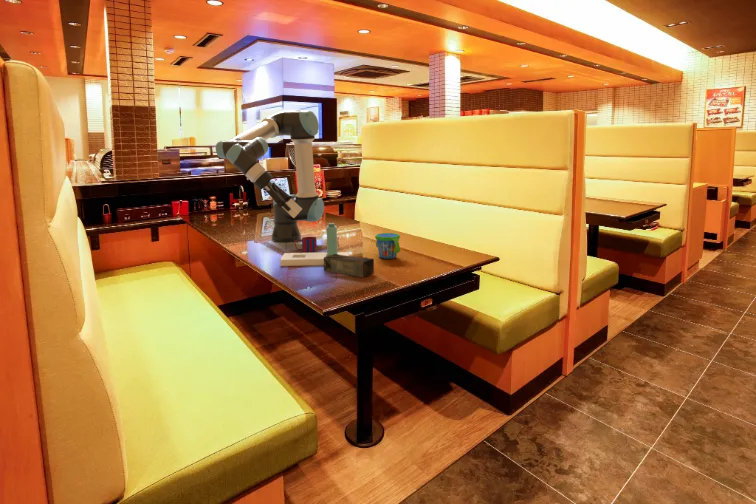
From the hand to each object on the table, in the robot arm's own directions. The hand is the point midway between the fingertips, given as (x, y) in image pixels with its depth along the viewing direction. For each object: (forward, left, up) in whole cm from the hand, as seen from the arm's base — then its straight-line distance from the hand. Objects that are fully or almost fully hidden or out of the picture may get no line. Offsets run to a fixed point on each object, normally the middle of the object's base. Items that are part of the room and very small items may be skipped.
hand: (298, 213), depth 197 cm
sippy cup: (-7, +38, -21) cm, 44 cm away
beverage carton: (+16, +20, -22) cm, 34 cm away
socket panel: (0, +7, -21) cm, 22 cm away
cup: (-20, +1, -21) cm, 29 cm away
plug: (0, +14, -21) cm, 25 cm away
